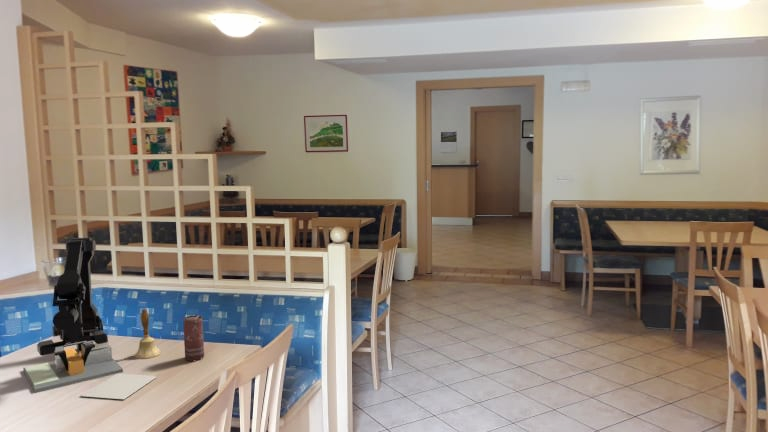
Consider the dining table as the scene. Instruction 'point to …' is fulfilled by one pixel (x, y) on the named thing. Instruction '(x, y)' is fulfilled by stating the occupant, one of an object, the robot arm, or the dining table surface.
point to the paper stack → (119, 386)
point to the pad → (41, 374)
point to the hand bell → (146, 340)
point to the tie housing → (89, 357)
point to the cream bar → (100, 345)
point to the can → (193, 337)
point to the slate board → (78, 375)
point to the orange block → (74, 362)
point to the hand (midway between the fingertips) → (75, 368)
